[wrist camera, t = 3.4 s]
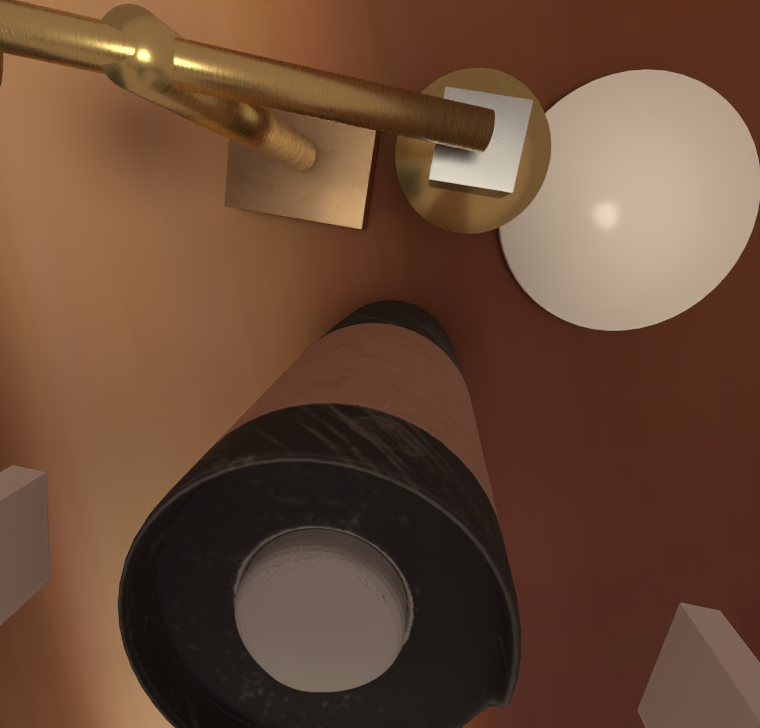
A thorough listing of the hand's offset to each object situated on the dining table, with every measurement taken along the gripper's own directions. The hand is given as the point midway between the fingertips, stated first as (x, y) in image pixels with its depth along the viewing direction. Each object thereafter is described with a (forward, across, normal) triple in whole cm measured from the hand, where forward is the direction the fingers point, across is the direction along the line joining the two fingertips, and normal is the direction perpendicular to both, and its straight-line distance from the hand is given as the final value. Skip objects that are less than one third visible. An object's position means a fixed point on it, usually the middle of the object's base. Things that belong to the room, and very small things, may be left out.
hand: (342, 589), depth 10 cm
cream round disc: (+19, +10, +10) cm, 23 cm away
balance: (+18, -6, +10) cm, 22 cm away
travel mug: (+19, 0, 0) cm, 19 cm away
